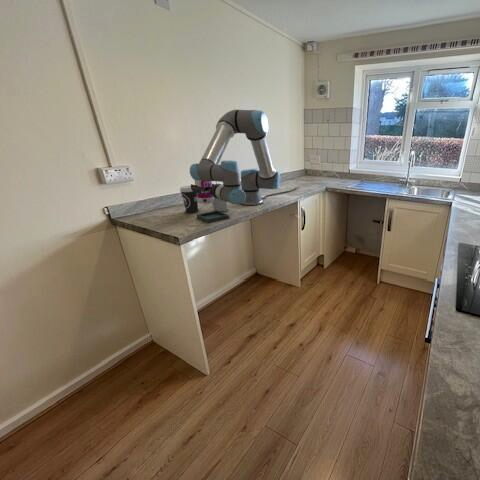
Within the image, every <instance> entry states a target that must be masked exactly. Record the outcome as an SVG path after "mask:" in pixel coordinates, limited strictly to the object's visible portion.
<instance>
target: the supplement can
mask: <svg viewBox="0 0 480 480" xmlns="http://www.w3.org/2000/svg"><path fill="white" fill-rule="evenodd" d="M212 184H213V181H199V180H194V185H197V186H198V187H212ZM208 189H209V188H208ZM196 194H197V201H198V204H203V205H205V204H206V205H209V204H213V201H214V197H213V196H212V195H211V194H207V193H206V194H205V195H202V194H199V193H196Z"/></svg>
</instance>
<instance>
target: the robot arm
mask: <svg viewBox="0 0 480 480" xmlns="http://www.w3.org/2000/svg"><path fill="white" fill-rule="evenodd" d="M269 130H270V129H269V120H268V117H267V114H266V113H265V111H262V110H259V109H231V110H230V111H228V112H226V113H225V114H223V115H222V116H221V117H220V118H219V120H218V121H217V123H216V125H215V131H214V133H213V136H212V138H211V139H210V141H209V143H208V145H207V147H206V148H205V151H204V153H203V155H202V157H201V159H200V161H199V162H198V163H193V164H191V165H190V167H189V175H190V177H191V178H192V179H193V181H195V180H199V181H212V182H217V184H216V183H212V187H198V186H197V185H195V184H192V183H191V184H190V186H191V190H192V192H194V193H199V194H202V195H205V194H206V193H207V194H211V195H212V196H213V197H214V198H217V199H220V200H223V201H225V202H226V203H229V204H231V205H237V206H238V205H243V206H259V205H262V204H263V202H264V201H263V200H264V199H266V198H267V197H270V196H276V195H281V194H286V193H290V192H292V191H295V190H297V189H298V188H299V187H298V186H299V185H297V186H296V187H298V188H296V187H294V188H292V189H293V190H292V189H290V191H289V190H286V191H281V192H276V193H272V194H266V195H264V197H262V195H261V193H260V189H261V190H278V189H279V187H280V184H281V173H280V171H277V169H276V167H274V166H273V163H272V159H271V154H270V151H269V147H268V144H267V139H266V137H267V136H268V135H267V134H268V133H269ZM236 134H245V138H246V139H247V140H249V141H250V144H251V147H252V151H253V154H254V157H255V159H256V163H257V166H258V168H247V169H242V170H241V171H240V169H239V163H238V161H236V160H221V159H222V157H223V155H224V153H225V151H226V149H227V146H228V144H229V142H230V140H231V139H232V138H233V137H234V136H235V135H236ZM218 182H222V184H221V183H218ZM208 188H209V189H208Z"/></svg>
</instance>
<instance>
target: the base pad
mask: <svg viewBox="0 0 480 480" xmlns="http://www.w3.org/2000/svg"><path fill="white" fill-rule="evenodd" d="M196 219H198V220H199V221H203V222H205V223H207V224H210V223H215V222H220V221H223V220H227V219H230V215H229V214H228V213H225V212H224V211H221V212H220V211H214V210H212V211H207V212H203V213H197V214H196Z"/></svg>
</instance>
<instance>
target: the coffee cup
mask: <svg viewBox="0 0 480 480" xmlns="http://www.w3.org/2000/svg"><path fill="white" fill-rule="evenodd" d="M179 192H180V193H181V198H182V201H183V205H184V209H185V212H186V213H188V214H195V213H198V212H199V205H198V204H199V202H198V200H197V194H196V193H194V192H192V190H191V185H183V186H180V188H179Z"/></svg>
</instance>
